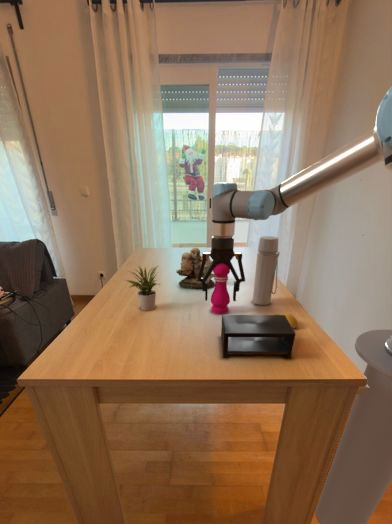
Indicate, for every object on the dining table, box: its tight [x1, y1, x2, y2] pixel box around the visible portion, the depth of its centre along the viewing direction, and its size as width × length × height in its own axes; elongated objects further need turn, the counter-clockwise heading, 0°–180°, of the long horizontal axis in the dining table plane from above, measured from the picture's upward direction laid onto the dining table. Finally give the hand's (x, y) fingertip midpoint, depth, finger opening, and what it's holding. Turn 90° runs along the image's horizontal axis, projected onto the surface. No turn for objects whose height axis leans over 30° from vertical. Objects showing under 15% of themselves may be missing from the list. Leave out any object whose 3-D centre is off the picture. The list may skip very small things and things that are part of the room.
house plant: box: [124, 265, 162, 311], centre depth 108 cm, size 14×14×16 cm
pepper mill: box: [210, 263, 231, 315], centre depth 103 cm, size 7×7×20 cm
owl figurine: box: [176, 247, 215, 290], centre depth 130 cm, size 18×12×17 cm, turn 95°
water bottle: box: [252, 235, 281, 306], centre depth 108 cm, size 9×8×25 cm
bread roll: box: [274, 313, 298, 329], centre depth 97 cm, size 8×9×4 cm
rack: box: [220, 314, 296, 360], centre depth 83 cm, size 19×12×8 cm, turn 88°
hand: (220, 299), depth 106 cm, fingers open, 10 cm apart
